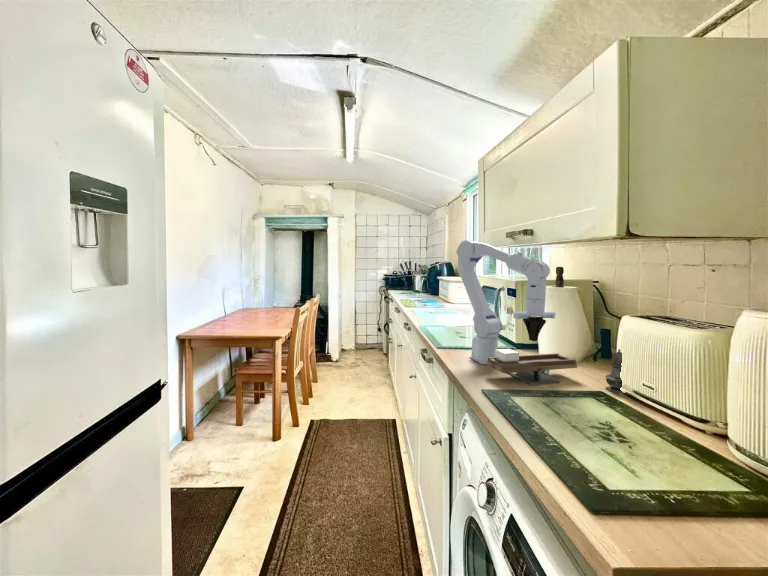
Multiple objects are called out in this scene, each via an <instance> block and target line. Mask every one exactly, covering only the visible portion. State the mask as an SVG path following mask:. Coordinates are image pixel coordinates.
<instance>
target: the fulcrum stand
mask: <svg viewBox="0 0 768 576" xmlns="http://www.w3.org/2000/svg"><path fill="white" fill-rule="evenodd" d="M550 371H551V370H550V369H549V368H539V371H528V372H514V373H507V374H508V375H510V376H512V377H514V378H515V379H518V380H519V381H521V382H524V383H525V384H527V385H529V386H537V385H538V386H539V385H551V384H560V379H557V378H555V377H552V376H550Z"/></svg>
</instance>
